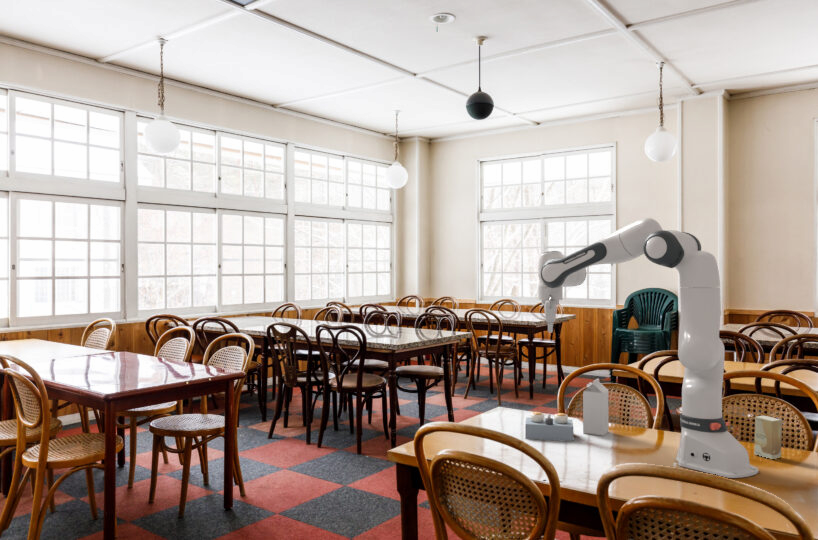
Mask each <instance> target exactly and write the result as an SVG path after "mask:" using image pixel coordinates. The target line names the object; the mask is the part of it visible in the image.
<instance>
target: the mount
mask: <svg viewBox="0 0 818 540" xmlns="http://www.w3.org/2000/svg"><path fill="white" fill-rule="evenodd" d="M545 418H546V417H544V421H543V422H541V423H540V422H533V421H531V417H526V418H525V424H524V425H525V428H524V429H525V433H524V434H525V435H524V436H525V439H526V440H527V439H528V440H529V439H530V440H545V441H546V440H547V441H563V442H574V422H573V419H568V422H567V423H565V424H559V423H556V422H555V418H552V419H553V425H546V424H545Z"/></svg>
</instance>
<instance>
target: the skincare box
mask: <svg viewBox="0 0 818 540" xmlns="http://www.w3.org/2000/svg"><path fill="white" fill-rule="evenodd" d="M754 420H755V422H754V455H755V456H757V455H759V457H761V456H762V458H764V457H766V458H765V459H767V458H770V459H775V458H779V457H781V458H782V435H783V433H782V431H783V420H782V419H780V418H775V417H772V416H767V415H758V416H755V419H754ZM770 459H769V460H770ZM775 460H776V459H775Z"/></svg>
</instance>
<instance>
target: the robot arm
mask: <svg viewBox="0 0 818 540" xmlns="http://www.w3.org/2000/svg"><path fill="white" fill-rule="evenodd" d="M642 255H644V256H645V257H646V259H647V260H648V261H650V262H652V263H653V264H656V265H657V266H662V267H666V268H669V269H674V268H675V269H676V270H677V272H678V274H679V284H680V286H679V287H680V289H679V290H680V293H679V294H680V317H679V318H680V319H679V329H678V347H677V348H678V349H677V357H678V360H679V362H680V364H681V365H682V366H683V367H684V371H683V372H684V373H683V380H682V387H681V413H680V415H679V423H680V424H679V425H680V429H681V430H680V431H681V432H680V440H679V447H678V451H677V454H676V457H675V460H676V461H677V462H678V466H679V467H683V468H687V469H690V470H695V471H699V472H703V473H707V474H711V475H715V474H716V475H715V476H719V477H722V478H723V477H724V478H728V479H740V478H747V477H751V476H752V477H753V476H754V475H757V474H758V473H759V467H756V466H755V465H752V464H750V457H749V456H750V455H749V452H748V450H747V448H746V447H745V446H744V445H742V443H740V442H739V440H738V439H736V438H735V437H734V436H733V435H732V434H731V433H730V432H729V431H728V427H729V426H730V423H732V422H731V421H725V418H724V416H723V382H724V374H725V373H724V370H725V369H724V368H725V351H726V350H725V345H724V342H723V341H722V339H721V338H720V325H721V324H720V323H721V316H722V314H721V313H722V310H721V309H722V308H721V307H722V306H721V305H722V304H721V302H722V301H721V281H720V272H719V271H720V270H719V266H718V263H717V259H716V256H715V255H714V254H712V253H710V252H708V251H705V250H702V244H701V241H700V240H699V238H697V237H696V235H693V234H691V233H690V232H685V231H679V230H670V229H669V230H664V229H663V228H662V226H661V224H660V223H659V222H658V221H657V220H656V219H654V218H652V217H645V218H641V219H638V220H636V221H632V222H631V223H628V224H626V225H624V226H622V227H620V228H619V229H617V230H615V231H614V232H612V233H609V234H608V235H606V236H605V237H603V238H601V239H599V240H598V241H595V242H593V243H592V244H590V245H588V246H585V247H584V248H581V249H578V250H577V251H575V252H572V253H571V254H568V255H566V256H565V255H564V254H563V253H562V252H561V251H558V250H552V251H546V252H543V253H542V254H540V256H539V259H538V266H537V267H538V269H537V273H538V274H537V277H538V280H539V282H538V287H537V288H538V289H537V292H538V293H537V299H538V300H540V301H541V304H542V305H543V310H544V318H545V319H544V320H545V322H547V333H549V334H551V333H553V331H554V328H553V327H554V322H556V319H557V317H556V316H557V315H556V312H557V305H559V304H560V301H563V293H564V292H563V291H564V290H563V288H569V287H570V288H571V287H578V286H581V285H582V284H584V282H585V280H586V278H587V270H586V269H587V268H589V267H592V266H596V265H597V266H598V265H609V264H610V265H612V264H615V265H616V264H622V263H626V262H630V261H632V260H634V259H636V258H638V257H641V256H642Z"/></svg>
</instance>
